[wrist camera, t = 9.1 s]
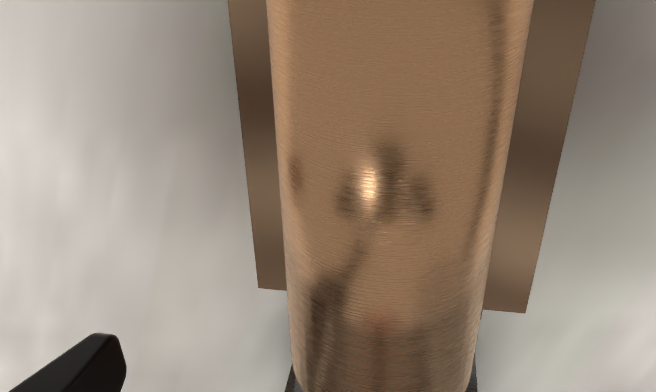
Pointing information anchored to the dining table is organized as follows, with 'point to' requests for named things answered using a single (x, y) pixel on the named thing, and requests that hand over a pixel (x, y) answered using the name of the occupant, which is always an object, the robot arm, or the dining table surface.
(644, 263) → the dining table surface
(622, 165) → the dining table surface
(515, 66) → the tan rounded oblong piece
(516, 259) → the pipe cradle
